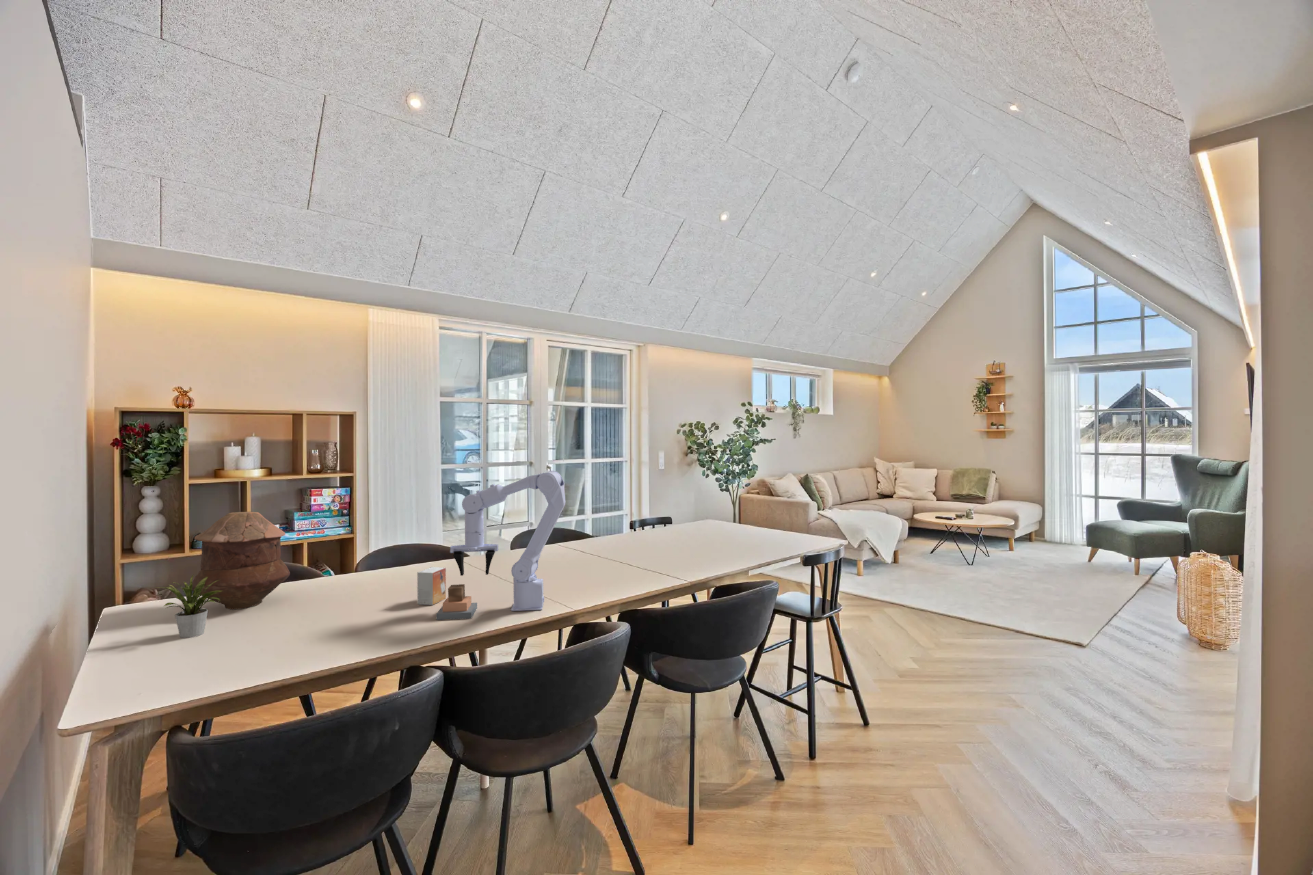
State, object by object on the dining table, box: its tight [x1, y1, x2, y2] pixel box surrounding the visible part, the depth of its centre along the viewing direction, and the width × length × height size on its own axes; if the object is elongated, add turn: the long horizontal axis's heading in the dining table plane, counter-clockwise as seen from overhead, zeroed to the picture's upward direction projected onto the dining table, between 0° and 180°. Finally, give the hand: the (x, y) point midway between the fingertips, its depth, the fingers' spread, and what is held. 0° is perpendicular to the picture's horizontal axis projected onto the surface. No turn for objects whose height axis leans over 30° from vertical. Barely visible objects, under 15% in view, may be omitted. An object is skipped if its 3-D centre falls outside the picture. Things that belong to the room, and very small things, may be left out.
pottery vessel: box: [192, 511, 291, 610], centre depth 188 cm, size 26×26×30 cm
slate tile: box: [435, 602, 478, 621], centre depth 178 cm, size 10×10×2 cm
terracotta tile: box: [442, 595, 472, 612], centre depth 178 cm, size 7×7×2 cm
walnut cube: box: [447, 583, 466, 602], centre depth 178 cm, size 4×4×4 cm
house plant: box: [155, 574, 221, 639], centre depth 159 cm, size 14×14×16 cm
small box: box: [416, 566, 447, 606], centre depth 191 cm, size 8×6×10 cm
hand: (474, 574), depth 185 cm, fingers open, 7 cm apart
